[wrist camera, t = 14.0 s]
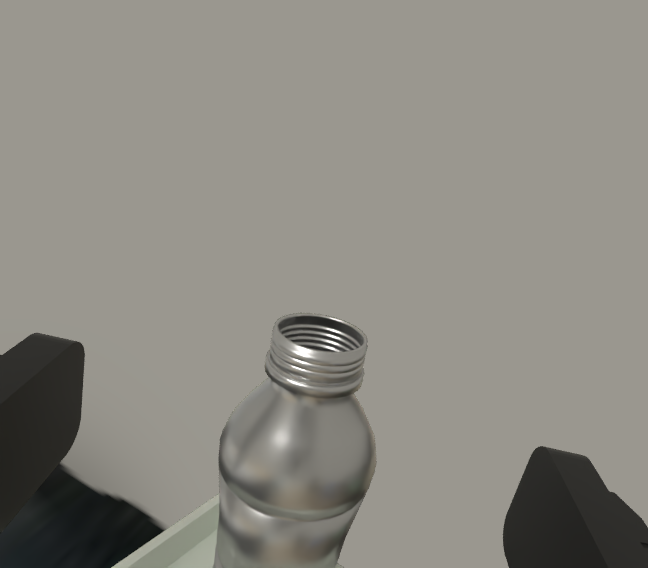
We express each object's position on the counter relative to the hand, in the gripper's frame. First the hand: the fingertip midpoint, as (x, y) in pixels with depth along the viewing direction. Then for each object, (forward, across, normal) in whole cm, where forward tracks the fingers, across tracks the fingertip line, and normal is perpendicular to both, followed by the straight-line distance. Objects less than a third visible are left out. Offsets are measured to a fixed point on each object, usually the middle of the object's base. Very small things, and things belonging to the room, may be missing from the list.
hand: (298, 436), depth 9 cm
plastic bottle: (+10, 0, +23) cm, 25 cm away
